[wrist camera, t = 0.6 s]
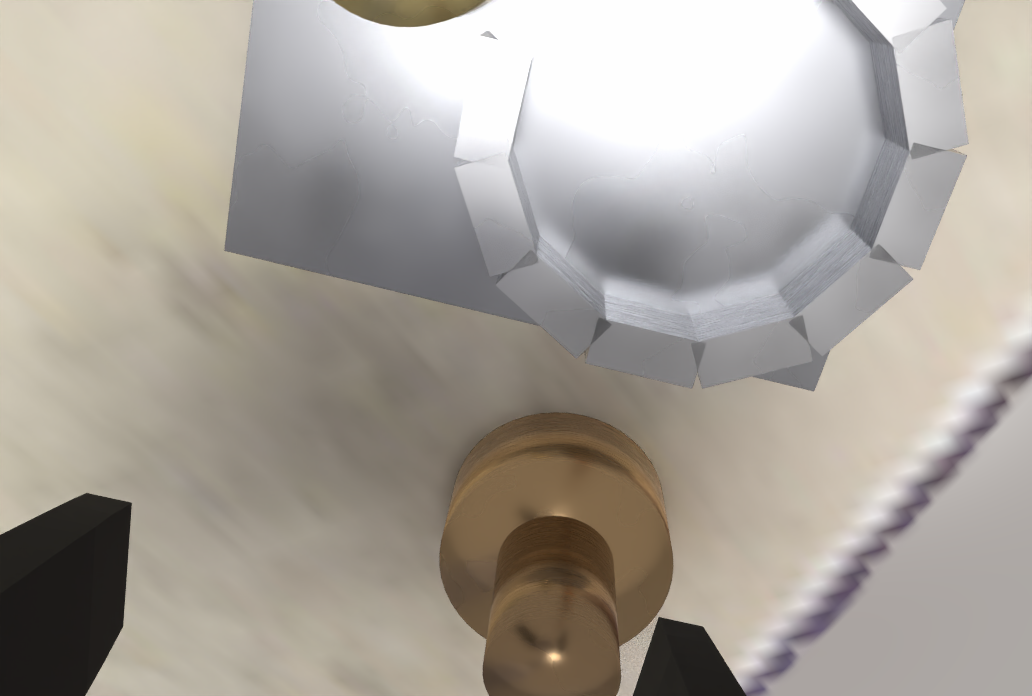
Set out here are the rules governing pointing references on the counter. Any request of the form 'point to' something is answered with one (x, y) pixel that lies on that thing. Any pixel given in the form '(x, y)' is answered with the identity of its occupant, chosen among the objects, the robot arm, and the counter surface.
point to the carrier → (609, 165)
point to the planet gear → (556, 553)
